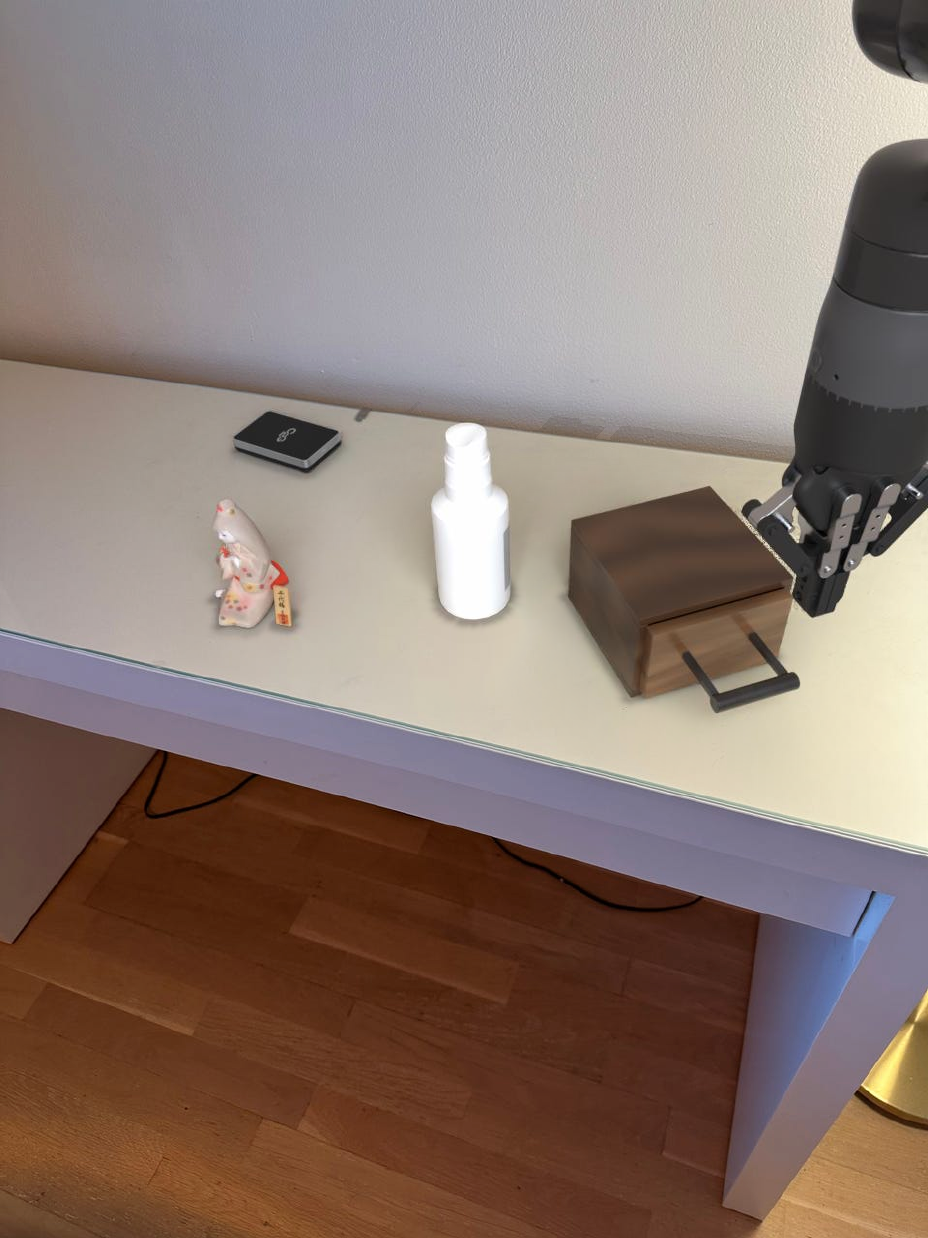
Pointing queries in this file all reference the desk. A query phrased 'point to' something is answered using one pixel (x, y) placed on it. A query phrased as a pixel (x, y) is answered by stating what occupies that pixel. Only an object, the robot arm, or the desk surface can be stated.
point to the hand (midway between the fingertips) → (814, 606)
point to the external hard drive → (287, 441)
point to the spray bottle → (471, 529)
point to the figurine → (248, 571)
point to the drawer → (720, 650)
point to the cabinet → (662, 569)
